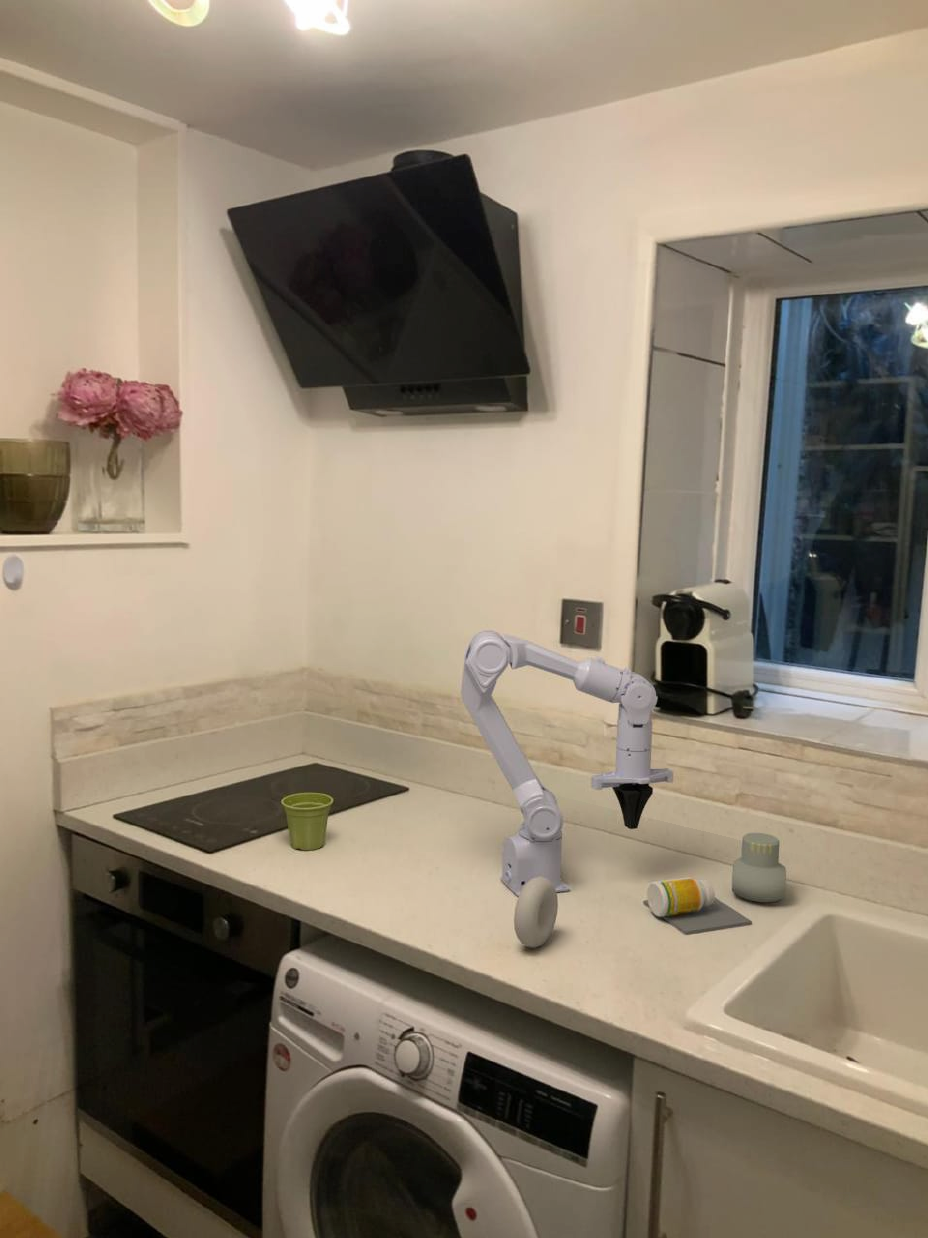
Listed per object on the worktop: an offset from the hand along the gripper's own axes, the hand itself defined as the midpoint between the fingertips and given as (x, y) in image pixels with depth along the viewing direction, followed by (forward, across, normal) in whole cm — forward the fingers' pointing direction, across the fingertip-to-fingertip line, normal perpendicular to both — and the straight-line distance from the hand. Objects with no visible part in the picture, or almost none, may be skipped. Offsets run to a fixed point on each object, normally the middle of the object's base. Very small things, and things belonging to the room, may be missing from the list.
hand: (630, 827), depth 162 cm
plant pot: (+10, -47, +35) cm, 60 cm away
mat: (+10, +5, -13) cm, 17 cm away
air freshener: (+11, +19, -10) cm, 24 cm away
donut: (+10, -24, -15) cm, 30 cm away
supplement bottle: (+7, -3, -12) cm, 15 cm away
